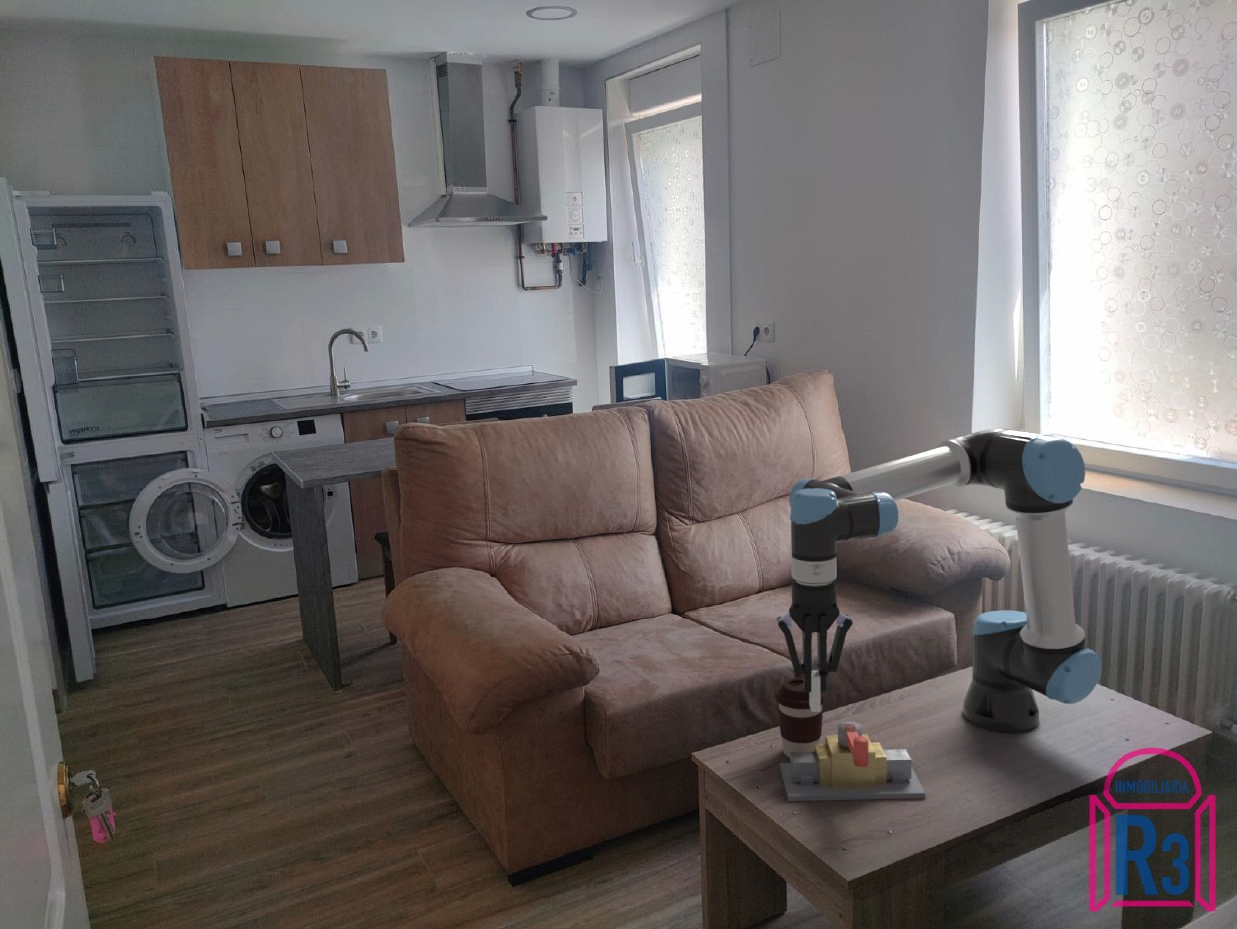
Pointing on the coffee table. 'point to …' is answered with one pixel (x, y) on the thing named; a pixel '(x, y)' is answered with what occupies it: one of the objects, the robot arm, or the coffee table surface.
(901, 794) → the mount board
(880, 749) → the pipe valve
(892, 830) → the coffee table surface
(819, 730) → the coffee cup
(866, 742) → the lever
